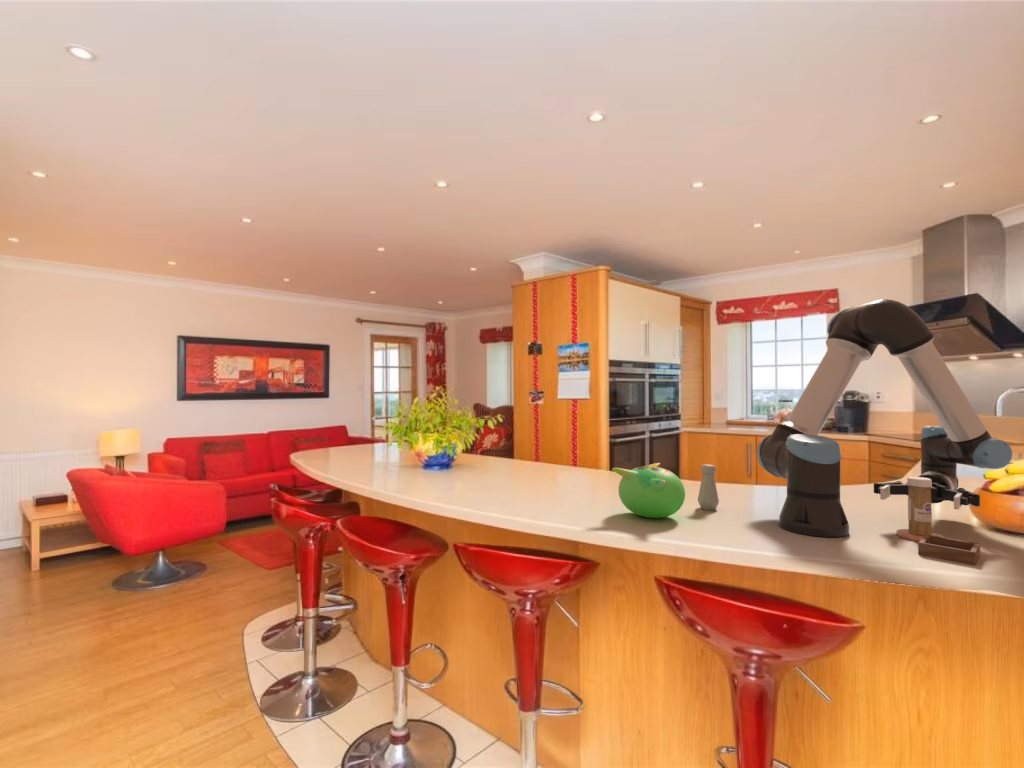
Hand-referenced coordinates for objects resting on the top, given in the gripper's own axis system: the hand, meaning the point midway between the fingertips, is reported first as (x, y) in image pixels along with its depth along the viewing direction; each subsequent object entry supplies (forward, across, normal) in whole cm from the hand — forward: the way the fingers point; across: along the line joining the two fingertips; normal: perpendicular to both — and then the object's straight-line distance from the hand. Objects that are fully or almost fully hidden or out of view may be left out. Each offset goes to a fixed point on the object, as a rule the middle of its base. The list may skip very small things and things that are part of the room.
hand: (917, 498), depth 118 cm
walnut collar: (+8, -6, -10) cm, 14 cm away
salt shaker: (+6, +48, -10) cm, 49 cm away
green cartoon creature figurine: (+28, +54, -10) cm, 62 cm away
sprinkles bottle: (-3, 0, -9) cm, 10 cm away
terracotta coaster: (-3, 0, -10) cm, 10 cm away
